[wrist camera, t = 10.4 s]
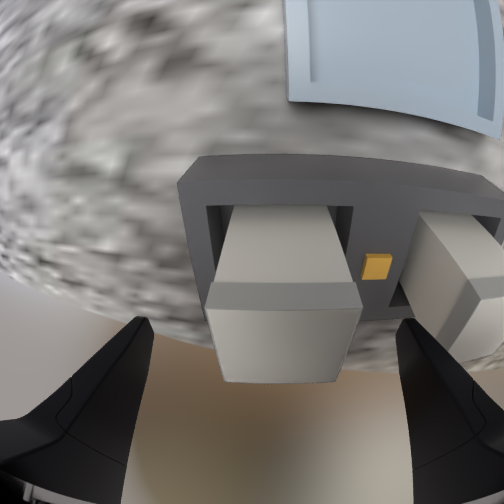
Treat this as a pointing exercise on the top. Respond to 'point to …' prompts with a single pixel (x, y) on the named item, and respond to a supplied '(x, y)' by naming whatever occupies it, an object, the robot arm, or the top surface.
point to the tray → (400, 57)
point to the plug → (282, 297)
